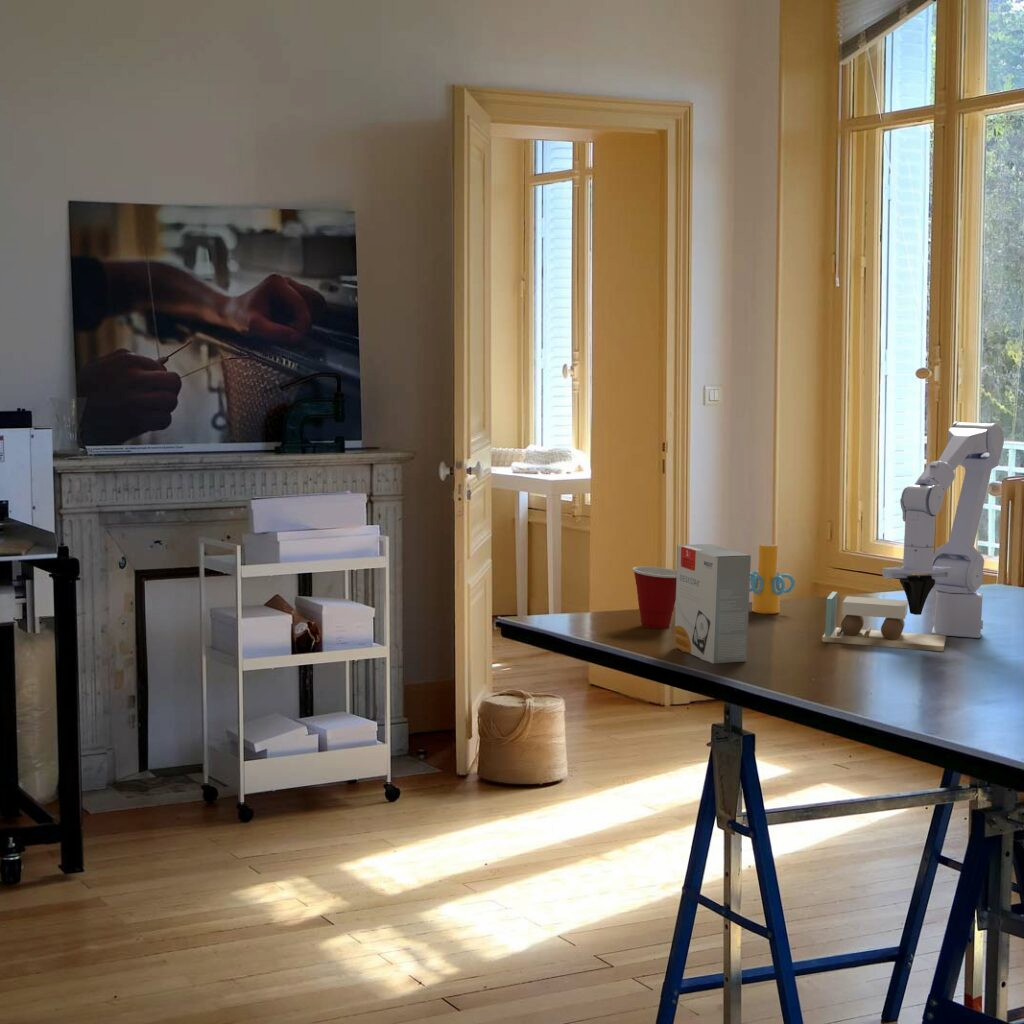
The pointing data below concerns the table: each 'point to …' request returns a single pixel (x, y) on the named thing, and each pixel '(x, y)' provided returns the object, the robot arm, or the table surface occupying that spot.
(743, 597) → the hard drive box
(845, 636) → the roller bed
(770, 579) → the cylinder
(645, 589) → the plastic cup
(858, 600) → the slab
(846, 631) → the roller
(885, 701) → the table surface
